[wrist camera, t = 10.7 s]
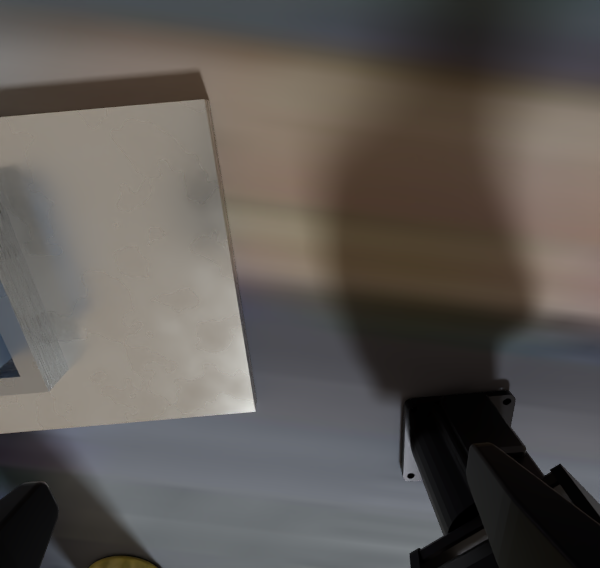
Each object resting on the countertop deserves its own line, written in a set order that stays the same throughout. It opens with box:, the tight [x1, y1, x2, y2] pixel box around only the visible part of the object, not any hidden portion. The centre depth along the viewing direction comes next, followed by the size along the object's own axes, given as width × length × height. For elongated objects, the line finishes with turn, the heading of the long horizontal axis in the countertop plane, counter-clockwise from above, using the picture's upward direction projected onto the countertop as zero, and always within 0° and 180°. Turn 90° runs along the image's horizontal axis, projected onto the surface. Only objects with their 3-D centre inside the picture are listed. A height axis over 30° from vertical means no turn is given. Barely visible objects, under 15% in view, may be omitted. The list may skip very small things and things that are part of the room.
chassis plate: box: [0, 99, 257, 434], centre depth 18 cm, size 16×20×3 cm
